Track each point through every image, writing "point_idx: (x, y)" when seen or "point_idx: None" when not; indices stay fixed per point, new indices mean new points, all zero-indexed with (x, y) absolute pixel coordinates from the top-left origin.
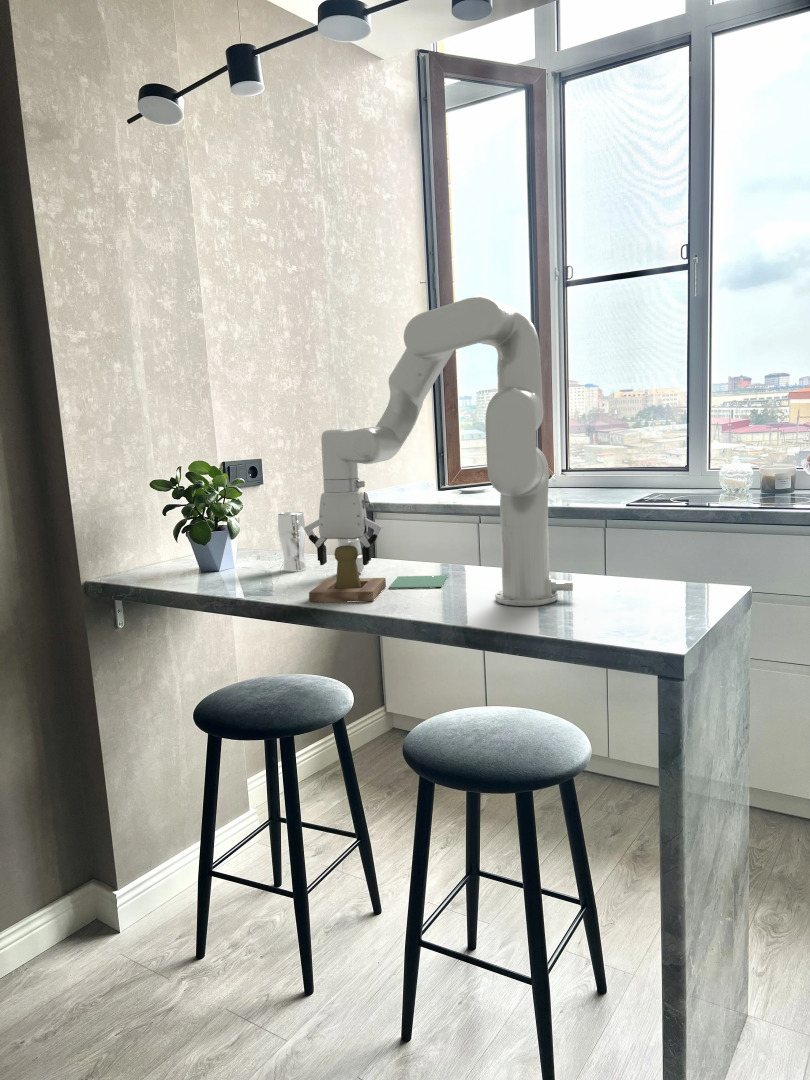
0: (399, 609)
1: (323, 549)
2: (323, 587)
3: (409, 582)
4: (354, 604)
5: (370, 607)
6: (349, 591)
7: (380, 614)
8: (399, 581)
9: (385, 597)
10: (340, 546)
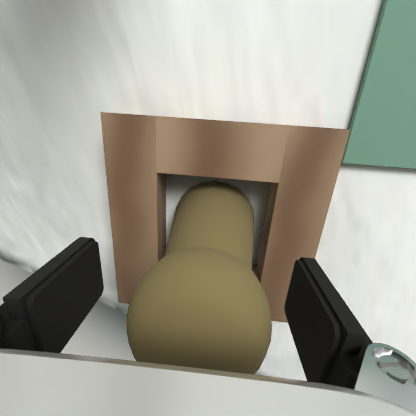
0: None
1: (54, 340)
2: (139, 252)
3: None
4: None
5: (283, 342)
6: None
7: None
8: (400, 53)
9: (322, 265)
10: (157, 362)
